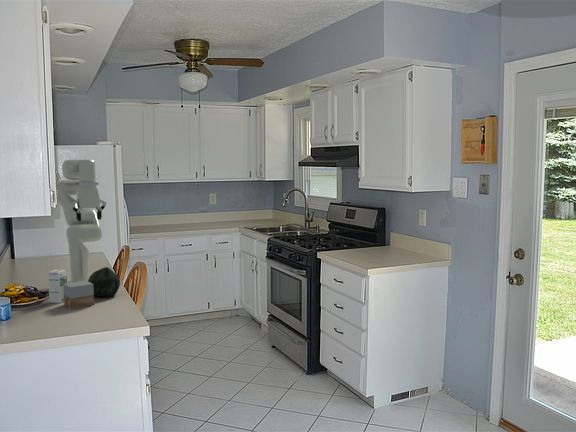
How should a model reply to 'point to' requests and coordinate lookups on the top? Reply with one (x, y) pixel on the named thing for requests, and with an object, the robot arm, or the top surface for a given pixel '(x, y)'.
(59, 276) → the syrup box
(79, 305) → the bottom block
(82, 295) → the top block
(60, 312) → the top surface
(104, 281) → the squash
